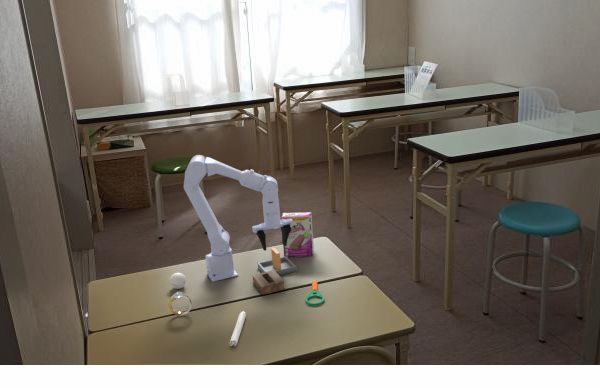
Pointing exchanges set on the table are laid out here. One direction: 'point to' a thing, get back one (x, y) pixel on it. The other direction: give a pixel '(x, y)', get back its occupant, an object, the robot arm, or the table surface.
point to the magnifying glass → (314, 295)
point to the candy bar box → (299, 235)
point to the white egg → (177, 280)
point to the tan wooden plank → (276, 259)
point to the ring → (179, 295)
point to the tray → (285, 269)
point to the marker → (238, 328)
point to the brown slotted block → (274, 282)
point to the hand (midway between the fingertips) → (274, 247)
